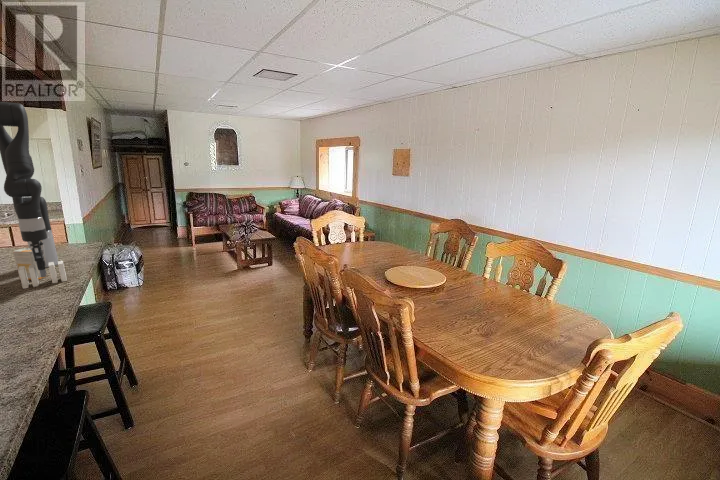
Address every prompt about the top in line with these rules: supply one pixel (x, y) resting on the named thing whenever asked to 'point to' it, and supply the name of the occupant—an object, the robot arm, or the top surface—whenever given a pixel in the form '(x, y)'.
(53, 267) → the ivory domino
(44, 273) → the charcoal domino
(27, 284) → the ivory domino
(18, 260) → the supplement box
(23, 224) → the robot arm
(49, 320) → the top surface
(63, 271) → the ivory domino
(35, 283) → the ivory domino
